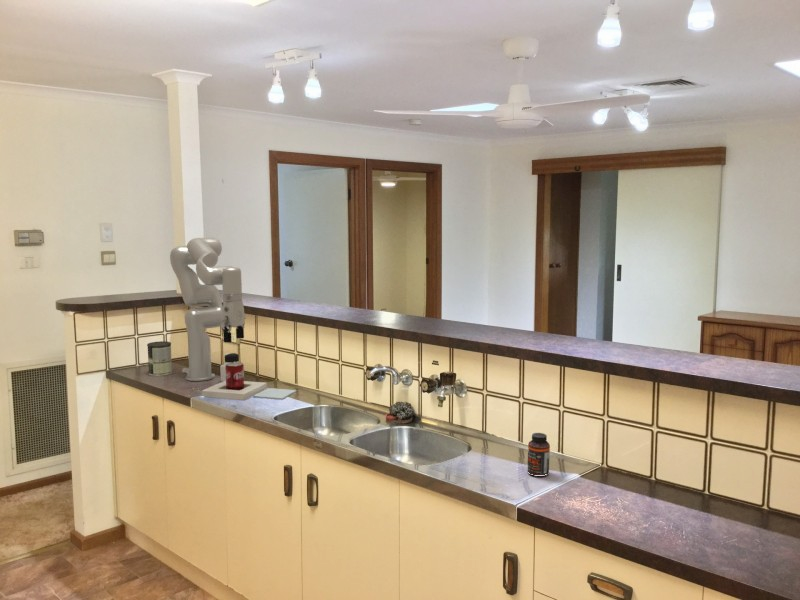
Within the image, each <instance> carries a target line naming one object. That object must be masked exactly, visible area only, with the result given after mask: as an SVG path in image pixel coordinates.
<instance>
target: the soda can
mask: <svg viewBox="0 0 800 600" xmlns="http://www.w3.org/2000/svg"><path fill="white" fill-rule="evenodd" d="M225 371H226V389H228V390H242V389H244V381H245V366H244V363H243V362H240V361H239V362H232V363H227V364H226V366H225Z"/></svg>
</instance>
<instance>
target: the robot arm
mask: <svg viewBox="0 0 800 600" xmlns="http://www.w3.org/2000/svg"><path fill="white" fill-rule="evenodd" d="M222 251H223V247H222V243H221V241H220V240H219V239H217V238H215V237H195V238H192V239H190V240H189V241H188V242H187V245H180V246H176V247H173V249H171V251H170V254H169V262H170V265H171V268H172V271H173V272H174V274H175V276H176V278H177V280H178V285H179V288H180V293H181V296H182V300H183V303H184V304H185V305H186V306H187V307H191V308H190V309H188V310H187V311H185V313H184V323H185V327H186V328H185V329H186V333H187V336H186V337H187V349H188V350H187V352H188V353H187V354H188V356H187V357H188V367H183V368H182V370H181V371H182V373H183V374H186V375H185V380H187V381H190V382H203V381H209V380H212V379H214V378H216V374H215V373H213V372H212V356H211V354H212V353H211V338H210V335H209V334H208V333H207V332H206V331H205V330H207V329H214V328H220V327H221V331H222V333H223V343H232V341H233V340H232V331H231V330H232V328H235V335H236V336H235V337H236V339H244V338H245V331H244V329H245V324H246V316H245V315H246V314H245V307H244V302H243V289H242V288H243V286H242V285H243V283H242V270H241V268H239V267H235V266H234V267H233V266H232V265H226V266H225V265H224V266H220V265H218V266H216V264H218V261H219V256H221V254H222ZM189 265H192V266H193V265H195V270H193V268H191V267H190V266H189ZM195 271H196V272H195ZM200 281H201V282H202V283H203V284H202V283H200ZM221 285H222V287H221V288H222V298H221V295H220V290H218V287H217V286H221Z"/></svg>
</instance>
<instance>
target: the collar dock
mask: <svg viewBox="0 0 800 600" xmlns="http://www.w3.org/2000/svg"><path fill="white" fill-rule="evenodd" d="M267 388H268V382H259V381H247V380H244V389H242V390H228V389H226V380H225V381H221V382H219V383H216V384H214V385H212V386H209V387H207V388H204V389H203V390H201V397H202V396H204V397H203V398H212V399H213V398H214V399H224V400H226V399H227V400H236V401H237V400H238V401H246V400H248V399H249V398H250V399H251V398H253V396H254V395H255V394H257V393H259V392H261V391H263V390H265V389H267Z"/></svg>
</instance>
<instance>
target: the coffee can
mask: <svg viewBox="0 0 800 600" xmlns="http://www.w3.org/2000/svg"><path fill="white" fill-rule="evenodd" d="M146 346H147V359H148V360H147V362H148V375H149V376H152V377H160V376H161V377H162V376H167V375H172V373H173V369H172V368H173V366H172V361H173V360H172V342H171V341H166V340H165V341H163V340H162V341H152V342H149V343H147V344H146Z"/></svg>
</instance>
